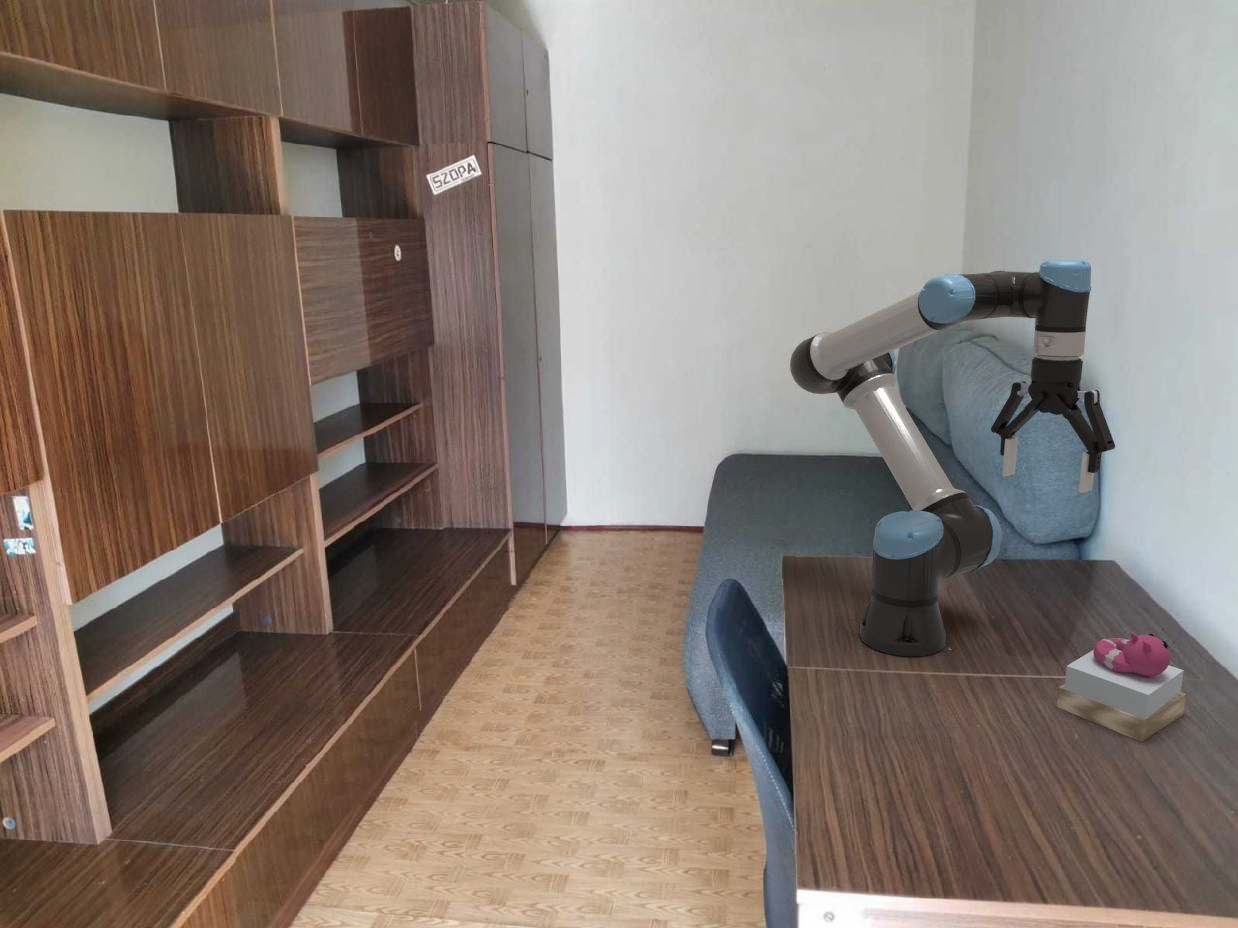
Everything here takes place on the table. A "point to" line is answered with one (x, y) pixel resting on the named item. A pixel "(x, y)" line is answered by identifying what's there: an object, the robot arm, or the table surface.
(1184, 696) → the lower slab
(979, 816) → the table surface
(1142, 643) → the toy
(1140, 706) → the upper block
